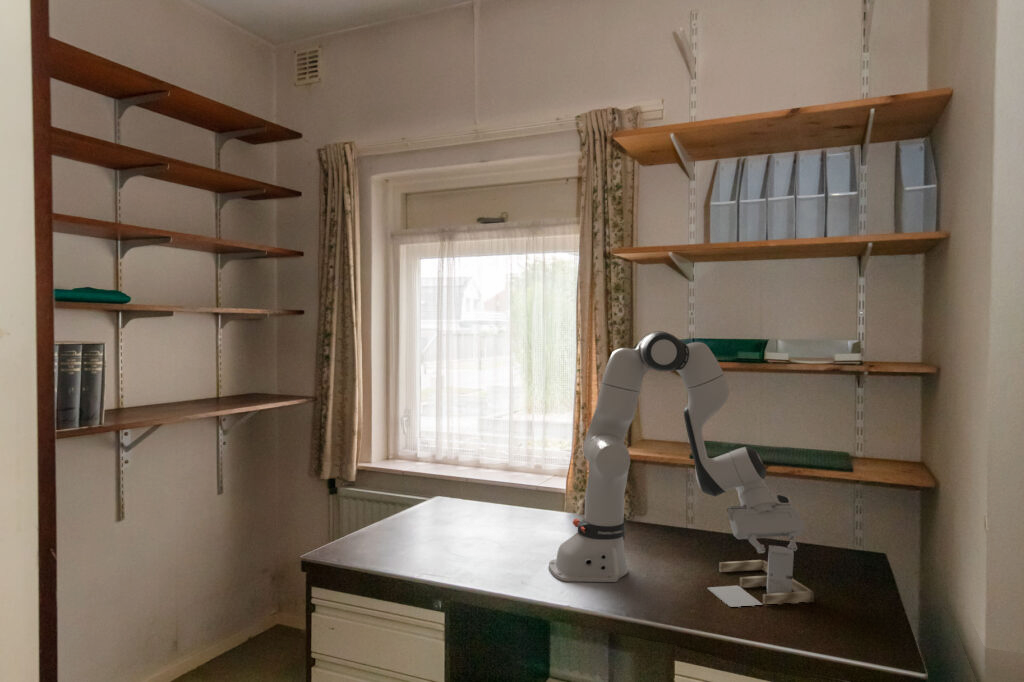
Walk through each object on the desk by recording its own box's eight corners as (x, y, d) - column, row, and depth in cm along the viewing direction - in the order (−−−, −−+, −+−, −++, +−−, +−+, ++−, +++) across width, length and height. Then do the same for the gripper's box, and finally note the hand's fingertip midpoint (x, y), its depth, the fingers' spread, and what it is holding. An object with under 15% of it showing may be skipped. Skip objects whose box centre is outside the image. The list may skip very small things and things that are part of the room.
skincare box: (767, 595, 175) (768, 549, 175) (766, 588, 179) (767, 544, 179) (792, 598, 173) (794, 552, 173) (790, 592, 178) (792, 547, 177)
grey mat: (730, 608, 167) (730, 606, 167) (707, 588, 179) (707, 587, 179) (762, 605, 169) (763, 604, 169) (737, 586, 181) (737, 585, 181)
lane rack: (764, 605, 169) (765, 595, 169) (719, 570, 191) (719, 562, 191) (813, 601, 172) (814, 592, 172) (763, 568, 194) (763, 559, 194)
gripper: (728, 500, 182) (747, 548, 173) (795, 497, 186) (817, 543, 177) (720, 511, 187) (737, 558, 178) (785, 508, 191) (806, 554, 182)
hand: (778, 551), depth 177 cm, fingers open, 8 cm apart
